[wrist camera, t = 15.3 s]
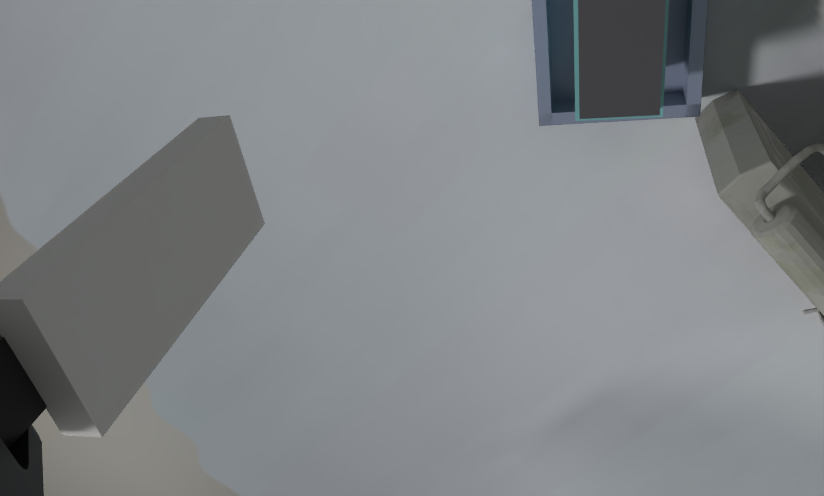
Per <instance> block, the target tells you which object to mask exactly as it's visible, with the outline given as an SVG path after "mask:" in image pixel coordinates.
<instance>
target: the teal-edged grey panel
mask: <svg viewBox="0 0 824 496" xmlns="http://www.w3.org/2000/svg"><path fill="white" fill-rule="evenodd" d="M573 13H574V75H575V121H589V120H609V119H630V118H651V117H663V106H664V87H665V69H666V50H667V32H668V13H669V0H573Z"/></svg>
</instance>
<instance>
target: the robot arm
mask: <svg viewBox="0 0 824 496" xmlns="http://www.w3.org/2000/svg"><path fill="white" fill-rule="evenodd" d="M264 224H265V223H264V220H263V217H262V214H261V211H260V208H259V205H258V201H257V198H256V195H255V192H254V189H253V186H252V183H251V180H250V177H249V174H248V170H247V167H246V164H245V161H244V158H243V155H242V152H241V149H240V146H239V143H238V140H237V136H236V133H235V130H234V127H233V124H232V121H231V118H230V115H229V116H217V117H205V118H198V119H197V120H196V121H195V122H193V123H192V124H191V125H190V126H189V127H187V128H186V129H185V130H184V131H183V132H181V133H180V134H179V135H178V136H176V137H175V138H174V139H173V140H172V141H170V142H169V143H168V144H167V145H166V146H164V147H163V148H162V149H161V150H159V151H158V152H157V153H156V154H155V155H153V156H152V157H151V158H150V159H149V160H147V161H146V162H145V163H144V164H142V165H141V166H140V167H139V168H138V169H136V170H135V171H134V172H133V173H132V174H130V175H129V176H128V177H127V178H125V179H124V180H123V181H122V182H121V183H119V184H118V185H117V186H116V187H114V188H113V189H112V190H111V191H110V192H108V193H107V194H106V195H105V196H104V197H102V198H101V199H100V200H99V201H97V202H96V203H95V204H94V205H93V206H91V207H90V208H89V209H88V210H87V211H85V212H84V213H83V214H82V215H80V216H79V217H78V218H77V219H76V220H74V221H73V222H72V223H71V224H70V225H68V226H67V227H66V228H65V229H63V230H62V231H61V232H60V233H59V234H57V235H56V236H55V237H54V238H53V239H51V240H50V241H49V242H48V243H46V244H45V245H44V246H43V247H42V248H40V249H39V250H38V251H37V252H36V253H34V254H33V255H32V256H31V257H30V258H28V259H27V260H26V261H25V262H23V263H22V264H21V265H20V266H19V267H17V268H16V269H15V270H14V271H12V272H11V273H10V274H9V275H8V276H6V277H5V278H4V279H3V280H2V281H0V496H44V493H43V467H42V466H43V465H42V442H41V440H40V438H39V435H38V433H37V432H36V430H35V429H34V427H33V426H32V423H33V422H34V421H35V420H36V419H37V418H38V416H39V415H40V414H41V413H42V412H43V411H44V410H45V409H47V411H48V412H49V413H50V415H51V417H52V418H53V420H54V422H55V423H56V425H57V427H58V428H59V430H60V431H61V433H62V434H63V435H73V436H88V437H103V436H104V434H105V433H106V431H107V430H108V429H109V428H110V426H111V425H112V424H113V422H114V421H115V420H116V418H117V417H118V416H119V415H120V413H121V412H122V410H123V409H124V408H125V407H126V405H127V404H128V403H129V401H130V400H131V399H132V397H133V396H134V395H135V393H136V392H137V391H138V390H139V388H140V387H141V386H142V384H143V383H144V382H145V380H146V379H147V378H148V376H149V375H150V374H151V372H152V371H153V370H154V369H155V367H156V366H157V365H158V363H159V362H160V361H161V359H162V358H163V357H164V355H165V354H166V353H167V351H168V350H169V349H170V348H171V346H172V345H173V344H174V342H175V341H176V340H177V338H178V337H179V336H180V334H181V333H182V332H183V330H184V329H185V328H186V326H187V325H188V324H189V323H190V321H191V320H192V319H193V317H194V316H195V315H196V313H197V312H198V311H199V309H200V308H201V307H202V305H203V304H204V303H205V302H206V300H207V299H208V298H209V296H210V295H211V294H212V292H213V291H214V290H215V288H216V287H217V286H218V284H219V283H220V282H221V281H222V279H223V278H224V277H225V275H226V274H227V273H228V271H229V270H230V269H231V267H232V266H233V265H234V263H235V262H236V261H237V259H238V258H239V257H240V256H241V254H242V253H243V252H244V250H245V249H246V248H247V246H248V245H249V244H250V242H251V241H252V240H253V238H254V237H255V236H256V235H257V233H258V232H259V231H260V229H261V228H262V227H263V225H264Z"/></svg>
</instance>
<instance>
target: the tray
mask: <svg viewBox="0 0 824 496" xmlns="http://www.w3.org/2000/svg"><path fill="white" fill-rule="evenodd" d="M707 7H708V0H669V13H668V32H667V50H666V69H665V87H664V106H663V117H651V118H630V119H609V120H589V121H575V75H574V13H573V0H532V10H533V27H534V44H535V61H536V78H537V94H538V111H539V126H546V125H563V124H580V123H597V122H614V121H631V120H648V119H665V118H682V117H699V116H700V109H701V94H702V80H703V65H704V51H705V36H706V22H707Z"/></svg>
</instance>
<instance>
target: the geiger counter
mask: <svg viewBox="0 0 824 496" xmlns="http://www.w3.org/2000/svg"><path fill="white" fill-rule="evenodd" d="M695 120H696V123H697V126H698V130H699V133H700V136H701V140H702V143H703V146H704V150H705V153H706V156H707V160H708V163H709V166H710V169H711V173H712V176H713V179H714V183H715V186H716V189H717V193H718V196H719V197H720V198H721V200H722V201H723V202H724V203H725V204H726V205H727V206H728V208H729V209H730V210H731V211H732V212H733V213H734V214H735V215H736V217H737V218H738V219H739V220H740V221H741V222H742V223H743V224H744V226H745V227H746V228H747V229H748V230H749V231H750V232H751V234H752V235H753V237H754V238H755V239H756V240H757V241H758V242H759V243H760V244H761V246H762V247H763V248H764V249H765V250H766V251H767V252H768V253H769V255H770V256H771V257H772V258H773V259H774V260H775V261H776V263H777V264H778V265H779V266H780V267H781V268H782V269H783V270H784V272H785V273H786V274H787V275H788V276H789V277H790V278H791V279H792V281H793V282H794V283H795V284H796V285H797V286H798V287H799V289H800V290H801V291H802V292H803V293H804V294H805V295H806V296H807V298H808V299H809V300H810V301H811V302H812V303H813V304H814V305H815V307H816V308H813V309H807V310H803V311H802V313H803V314H808V313H812V312H817V311H818V314H819V317H820V321H821V322H822V324H823V325H824V193H823V192H822V190H821V189H820V188H819V187H818V185H817V184H816V183H815V182H814V181H813V179H812V178H811V177H810V176H809V175H808V173H807V172H806V171H805V170H804V169H803V167H802V166H801V165H800V163H801V162H802V161H804V160H805V159H806V158H807V157H809V156H810V155H811V154H812V153H814V152H820V153H821V154H823V155H824V144H820V143H814V144H812V145H810V146H807V147H805V148H804V149H803V150H801V151H800V152H799V153H797V154H796V155H795V156H794V157H793V155H792V154H791V153H790V152H789V151H788V149H787V148H786V147H785V146H784V145H783V143H782V142H781V141H780V140H779V138H778V137H777V136H776V135H775V134H774V132H773V131H772V130H771V129H770V128H769V126H768V125H767V124H766V123H765V122H764V120H763V119H762V118H761V117H760V116H759V114H758V113H757V112H756V111H755V110H754V108H753V107H752V106H751V105H750V104H749V102H748V101H747V100H746V99H745V98H744V96H743V95H742V94H741V93H740V91H739V90H738V89H736V90H734V91H732V92H729V93H727V94H725V95H723V96H721V97H719V98H717V99H715V100H713V101H712V102H711V103H710V104H709V105H708V106H707V107H706V108H705V109H704V110H703V111H702V112H701V113H700V116H699V117H696V118H695Z"/></svg>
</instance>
